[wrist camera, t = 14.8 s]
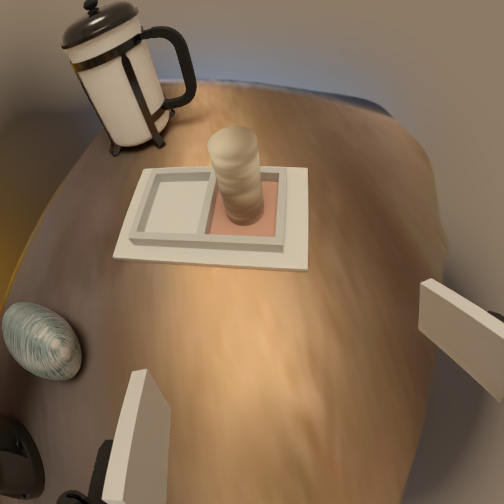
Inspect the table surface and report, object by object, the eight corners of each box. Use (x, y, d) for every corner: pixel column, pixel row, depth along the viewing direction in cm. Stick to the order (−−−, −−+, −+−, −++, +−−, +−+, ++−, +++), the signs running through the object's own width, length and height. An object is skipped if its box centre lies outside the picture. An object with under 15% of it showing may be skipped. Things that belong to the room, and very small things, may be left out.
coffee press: (127, 176, 45) (47, 25, 18) (101, 140, 51) (40, 23, 24) (209, 123, 49) (172, -30, 22) (169, 97, 55) (132, -22, 28)
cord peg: (223, 225, 38) (202, 159, 27) (229, 194, 40) (212, 127, 29) (262, 226, 37) (254, 158, 26) (265, 195, 39) (259, 126, 28)
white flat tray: (115, 259, 38) (105, 250, 35) (145, 172, 45) (139, 160, 42) (306, 272, 35) (309, 262, 32) (307, 171, 42) (308, 158, 39)
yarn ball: (4, 353, 29) (-22, 317, 23) (37, 312, 36) (20, 271, 30) (67, 407, 29) (46, 383, 22) (100, 358, 36) (90, 322, 30)
